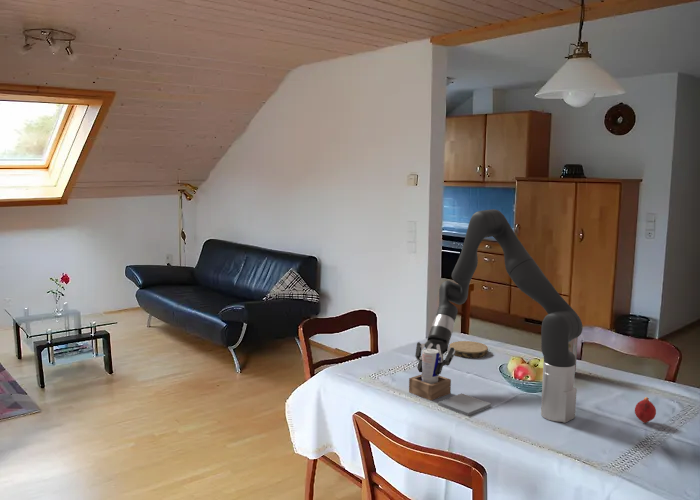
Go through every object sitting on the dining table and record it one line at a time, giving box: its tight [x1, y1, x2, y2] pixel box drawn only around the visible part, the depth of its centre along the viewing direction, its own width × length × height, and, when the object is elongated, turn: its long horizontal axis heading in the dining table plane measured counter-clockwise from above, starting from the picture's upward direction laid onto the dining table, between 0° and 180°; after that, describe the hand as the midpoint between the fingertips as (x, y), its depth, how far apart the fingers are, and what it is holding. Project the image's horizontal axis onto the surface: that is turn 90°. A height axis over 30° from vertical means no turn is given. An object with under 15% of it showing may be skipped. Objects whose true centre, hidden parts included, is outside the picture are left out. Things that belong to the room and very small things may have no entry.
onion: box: [634, 396, 657, 424], centre depth 184 cm, size 6×6×8 cm
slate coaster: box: [438, 392, 492, 417], centre depth 197 cm, size 12×12×1 cm
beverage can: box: [421, 348, 439, 384], centre depth 207 cm, size 6×6×15 cm
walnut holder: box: [408, 373, 452, 401], centre depth 208 cm, size 10×10×5 cm
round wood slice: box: [448, 340, 489, 359], centre depth 255 cm, size 16×16×3 cm
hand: (428, 372), depth 206 cm, fingers closed on beverage can, 5 cm apart
